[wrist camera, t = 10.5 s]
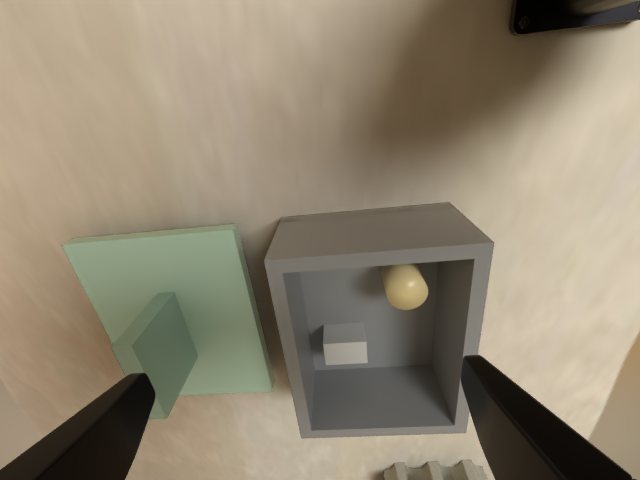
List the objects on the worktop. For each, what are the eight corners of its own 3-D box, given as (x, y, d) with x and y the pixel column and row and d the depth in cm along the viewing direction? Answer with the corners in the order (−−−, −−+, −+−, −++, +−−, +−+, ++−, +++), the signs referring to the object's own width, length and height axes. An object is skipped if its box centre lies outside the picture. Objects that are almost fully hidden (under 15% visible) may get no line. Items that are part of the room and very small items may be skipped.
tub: (449, 202, 20) (494, 242, 14) (437, 361, 26) (466, 433, 20) (281, 217, 21) (263, 260, 15) (307, 368, 26) (301, 438, 21)
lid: (241, 218, 21) (201, 271, 14) (276, 371, 27) (259, 456, 20) (83, 232, 22) (-19, 288, 15) (152, 377, 28) (99, 461, 21)
